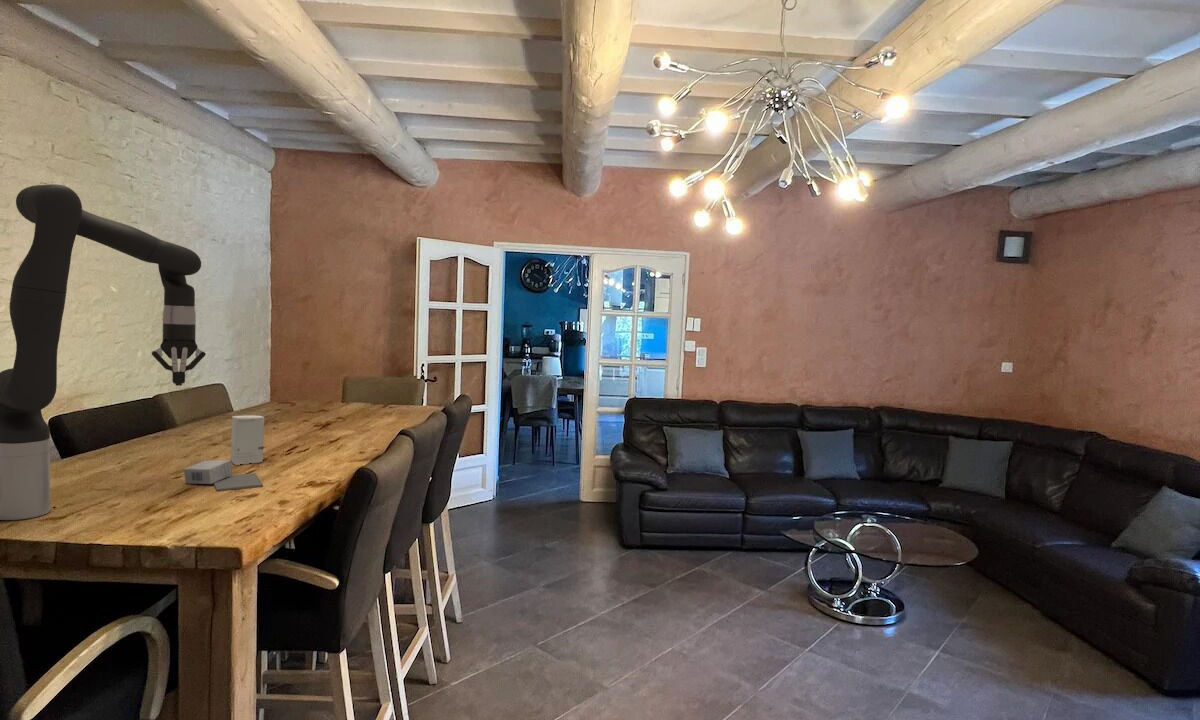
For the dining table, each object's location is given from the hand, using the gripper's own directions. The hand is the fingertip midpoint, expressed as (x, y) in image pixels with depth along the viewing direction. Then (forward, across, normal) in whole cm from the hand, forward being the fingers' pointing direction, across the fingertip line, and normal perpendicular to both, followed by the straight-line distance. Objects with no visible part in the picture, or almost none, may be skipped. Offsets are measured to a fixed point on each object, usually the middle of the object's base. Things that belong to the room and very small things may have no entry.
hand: (178, 385), depth 174 cm
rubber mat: (+27, +14, -8) cm, 31 cm away
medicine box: (+24, +4, -6) cm, 26 cm away
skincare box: (+27, +19, +17) cm, 37 cm away
